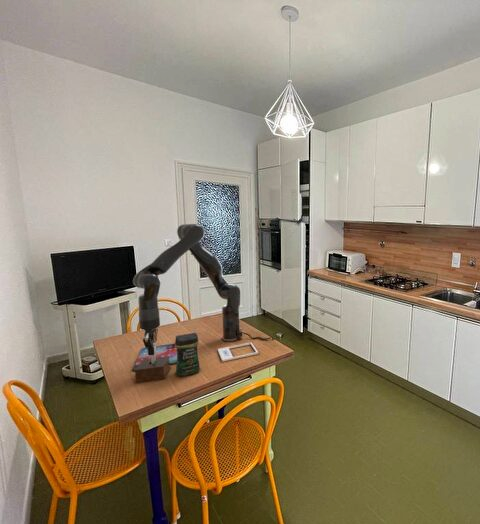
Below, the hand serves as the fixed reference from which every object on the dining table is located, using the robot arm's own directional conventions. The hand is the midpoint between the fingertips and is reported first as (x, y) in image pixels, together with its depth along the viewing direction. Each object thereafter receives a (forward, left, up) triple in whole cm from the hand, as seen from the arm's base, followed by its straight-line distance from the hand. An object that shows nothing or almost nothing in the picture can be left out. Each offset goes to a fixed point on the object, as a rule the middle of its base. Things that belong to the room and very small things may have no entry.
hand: (152, 353), depth 132 cm
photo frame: (-36, -13, -10) cm, 40 cm away
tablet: (+2, -20, -10) cm, 23 cm away
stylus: (0, 0, -9) cm, 9 cm away
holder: (0, 0, -10) cm, 10 cm away
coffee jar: (-15, +2, -11) cm, 18 cm away
